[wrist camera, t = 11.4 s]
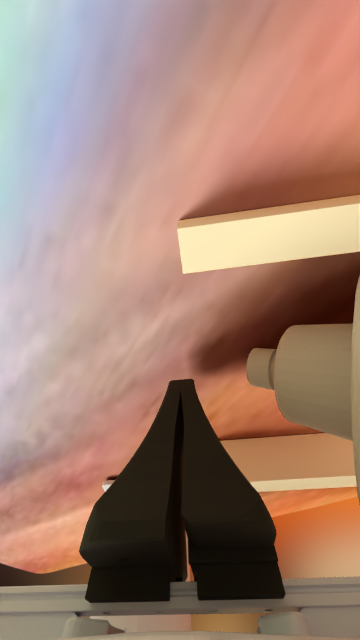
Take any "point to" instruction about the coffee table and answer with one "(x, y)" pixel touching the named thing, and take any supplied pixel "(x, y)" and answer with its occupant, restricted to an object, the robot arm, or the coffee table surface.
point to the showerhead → (316, 377)
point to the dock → (267, 247)
